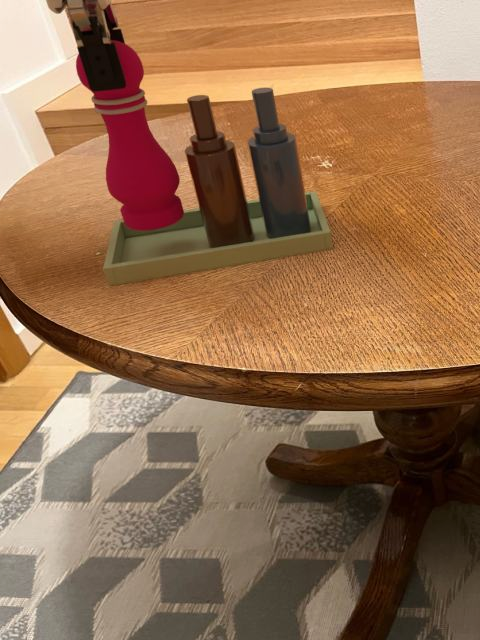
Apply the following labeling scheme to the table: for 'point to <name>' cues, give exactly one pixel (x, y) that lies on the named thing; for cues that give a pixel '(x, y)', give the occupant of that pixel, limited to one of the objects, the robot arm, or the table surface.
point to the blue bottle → (277, 171)
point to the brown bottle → (217, 179)
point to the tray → (203, 246)
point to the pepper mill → (135, 151)
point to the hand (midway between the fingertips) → (112, 78)
